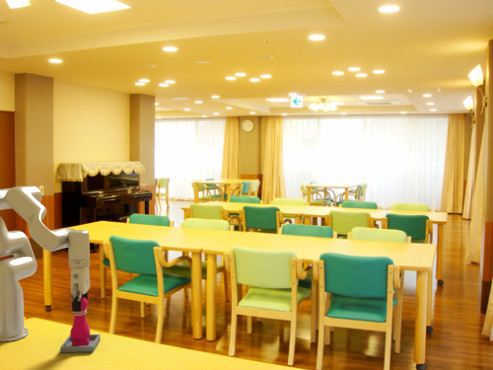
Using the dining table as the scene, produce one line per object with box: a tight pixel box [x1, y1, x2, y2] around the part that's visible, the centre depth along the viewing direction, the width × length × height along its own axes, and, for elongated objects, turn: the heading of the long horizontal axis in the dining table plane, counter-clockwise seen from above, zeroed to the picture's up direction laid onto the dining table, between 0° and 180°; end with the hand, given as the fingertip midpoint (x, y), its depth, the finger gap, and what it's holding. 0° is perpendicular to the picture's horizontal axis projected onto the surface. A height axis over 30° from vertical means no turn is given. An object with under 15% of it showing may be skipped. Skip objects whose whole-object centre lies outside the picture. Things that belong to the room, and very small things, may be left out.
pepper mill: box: [69, 294, 91, 346], centre depth 181 cm, size 7×7×20 cm
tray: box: [60, 333, 101, 355], centre depth 181 cm, size 12×12×2 cm
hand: (80, 306), depth 180 cm, fingers open, 9 cm apart
